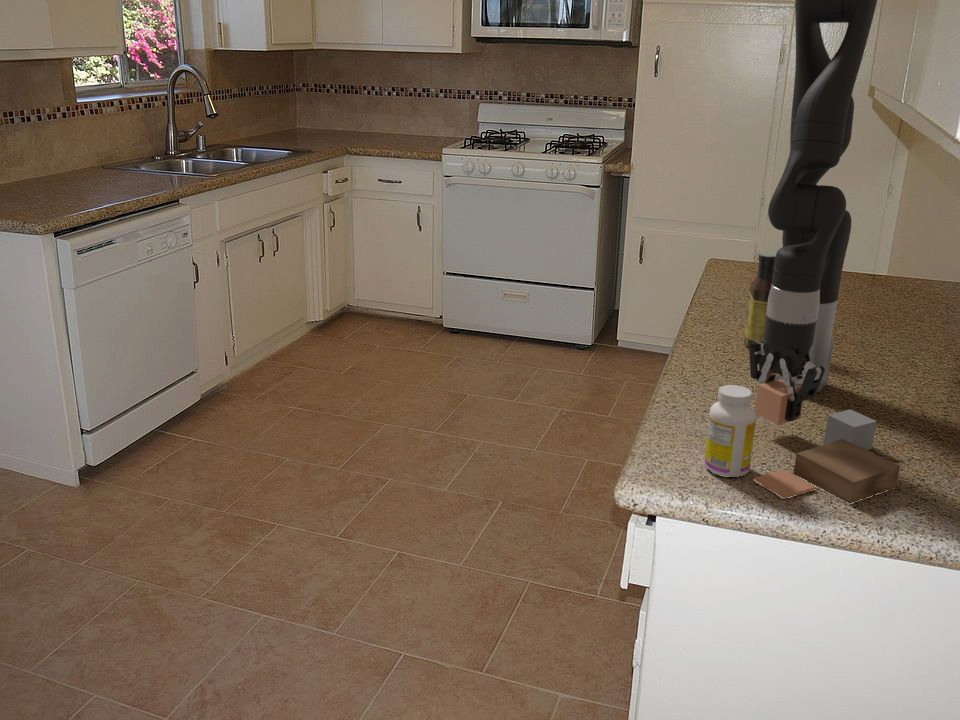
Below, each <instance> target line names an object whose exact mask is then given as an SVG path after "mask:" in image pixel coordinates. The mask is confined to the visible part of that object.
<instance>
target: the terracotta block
mask: <svg viewBox="0 0 960 720" xmlns="http://www.w3.org/2000/svg"><path fill="white" fill-rule="evenodd" d="M795 392H797V389H796V386H795ZM788 399H789V398H788V392H787V387H786V386H785V385H784V380H782V379H779V380H776V381H772V382H768V383H764V384H760V385H759V384H758V387H757V393H756V400H755V408H754V410H755V412H756V415H758V416H760V417H761V418H764V419H766V420H767V421H770V422H771V423H773V424H775V425H782V424H786V423H790V422H789V421H787V420H785V414H786V407H787V400H788ZM803 404H804V401H802V405H801V412H800V416H799V418H797V419H796V420H800V419H802V418H801V417H802V411H803ZM796 420H795V421H796Z"/></svg>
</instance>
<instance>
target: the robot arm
mask: <svg viewBox="0 0 960 720" xmlns="http://www.w3.org/2000/svg"><path fill="white" fill-rule="evenodd" d="M877 3H878V0H795V3H794V4H795V14H794V15H795V67H794V68H795V71H794V83H793V93H792V95H793V98H792V106H791V107H792V108H791V115H790V116H791V117H790V120H791V121H790V141H789V144H790V145H789V155H788V159H787V162H786V164H785V167H784V170H783V173H782V175H781V176H780V179H779V182H778V183H777V186H776V188H775V190H774V192H773V194H772V196H771V199H770V201H769V204H768V208H767V210H768V211H767V215H768V216H767V217H768V219H769V222H770V224H771V225H772V227H773V228H774V229H776V230H778V231H782V239H781V240H782V247H780V248H779V249H778V250H777V251H776V252H775V253H776V257H775V263H774V271H773V279H772V285H771V290H770V293H769V297H768V303H767V311H766V319H765V326H764V334H763V338H764V341H765V342H764V341H758V342H754V343H750V344H749V347H748V351H749V369H750V377H751V379H752V380H757V384H758V385H760V384H764V383H768V382H772V381H776V380H779V379H782V380H784V385H785V386H786V387H787V392H788V398H789V399H788V400H787V407H786V414H785V420H787V421H789V422H788V423H790V422H794V421H796V419H797V418H799V416H800V412H801V413H802V411H801V405H802V401H803V402H805V401H808V400H812V399H814V398H815V397H816V394H817V393H819V392H822V391H823V388H824V387H827V385H828V380H829V374H830V368H831V367H830V366H831V364H832V363H831V361H832V355H833V349H834V345H835V338H834V337H833V328H834V323H835V318H836V310H837V305H838V299H839V292H840V285H841V279H842V273H843V268H844V265H845V259H846V254H847V251H848V245H849V241H850V237H851V236H850V235H851V232H852V217H851V213H850V211H848V210H846V209H847V200H846V196H845V194H844V192H843V191H842V189H840V188H839V187H837V186H833V185H824V184H823V185H822V184H821V185H819V184H818V183H819V182H820V180H821V179H822V178H823V177H824V176H825V174H826V173H828V172H829V170H831V169H832V168H835V167H836V166H837V165H838V164H839V162H840V160H841V157H842V156H843V154H844V153H845V152H846V151H847V149H848V147H849V145H850V142H851V139H852V133H853V131H852V130H853V123H854V122H853V121H854V114H855V113H854V111H855V103H854V101H855V100H854V97H853V91H854V88H855V85H856V80H857V78H858V73H859V71H860V68H861V64H862V61H863V56H864V53H865V50H866V46H867V43H868V38H869V34H870V32H871V28H872V22H873V20H874V16H875V12H876V8H877V7H876V6H877ZM827 23H828V24H832V23H833V24H834V23H835V24H836V23H837V24H839V23H840V24H845V23H846V24H847V27H846V31H845V34H844V37H843V40H842V42H841V44H840V46H839V47H838V49H837V51H836V52H835V54H834V55H833V57H832V58H830V56H829V53H828V51H827V49H826V46H825V42H824V39H823V36H822V31H821V24H827ZM795 386H796V389H797V392H795ZM802 406H803V405H802ZM797 420H798V419H797Z"/></svg>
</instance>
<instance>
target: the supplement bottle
mask: <svg viewBox="0 0 960 720" xmlns="http://www.w3.org/2000/svg"><path fill="white" fill-rule="evenodd" d="M752 395H753V392H752V390H750V389H749V388H747V387H745V386H742V385H741V386H740V385H736V384H735V385H733V384H727V385H726V384H725V385H722V386H721V387H719V389H718V394H717V399H718V401H717V402H715V403H713V404H712V405H711V407H710V409H709V414H708V425H707V433H706V443H705V452H704V462H703V463H704V467H705V466H706V467H707V468H708V469H709V470H710V471H712V472H714V473H717V474H720V475H724V476H729V477H737V478H739V477H738V476H742V477H744V476H746V475H747V474H748V473H749V472H750V468H751V461H752V452H753V444H754V436H755V429H756V421H757V414H756V412H755V408H753V407H752V406H751V405H750V404H751V402H752V398H753V397H752ZM706 467H705V468H706ZM710 471H709V472H710ZM745 474H746V475H745ZM743 475H744V476H743Z"/></svg>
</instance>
